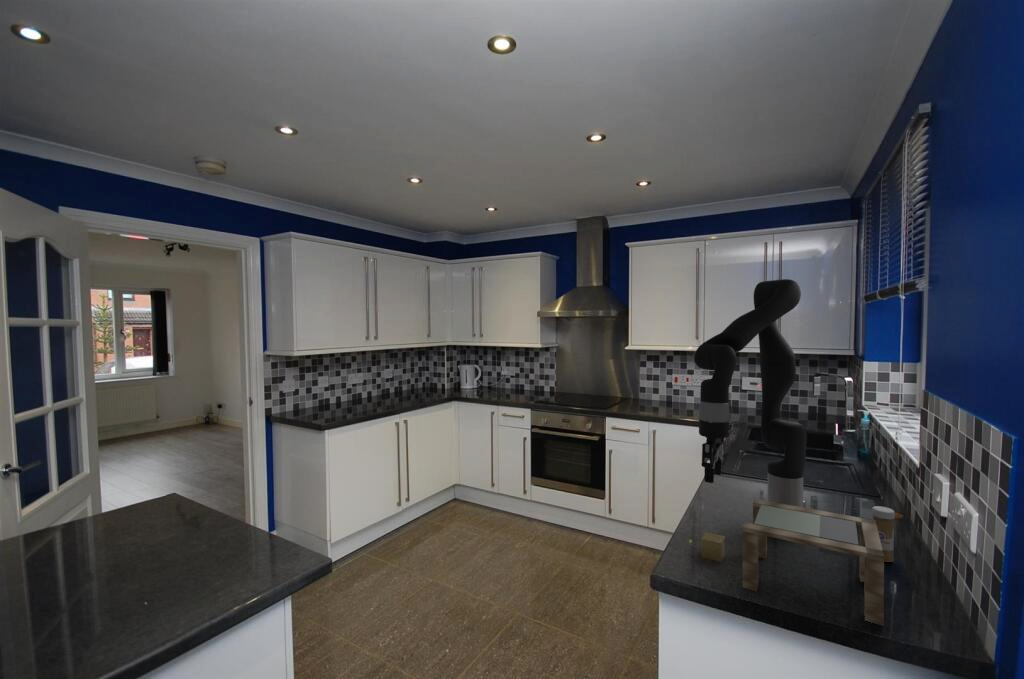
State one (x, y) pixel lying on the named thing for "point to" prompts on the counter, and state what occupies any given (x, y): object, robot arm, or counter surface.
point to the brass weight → (713, 546)
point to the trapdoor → (810, 526)
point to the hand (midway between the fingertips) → (713, 478)
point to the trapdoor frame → (868, 548)
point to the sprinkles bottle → (885, 530)
